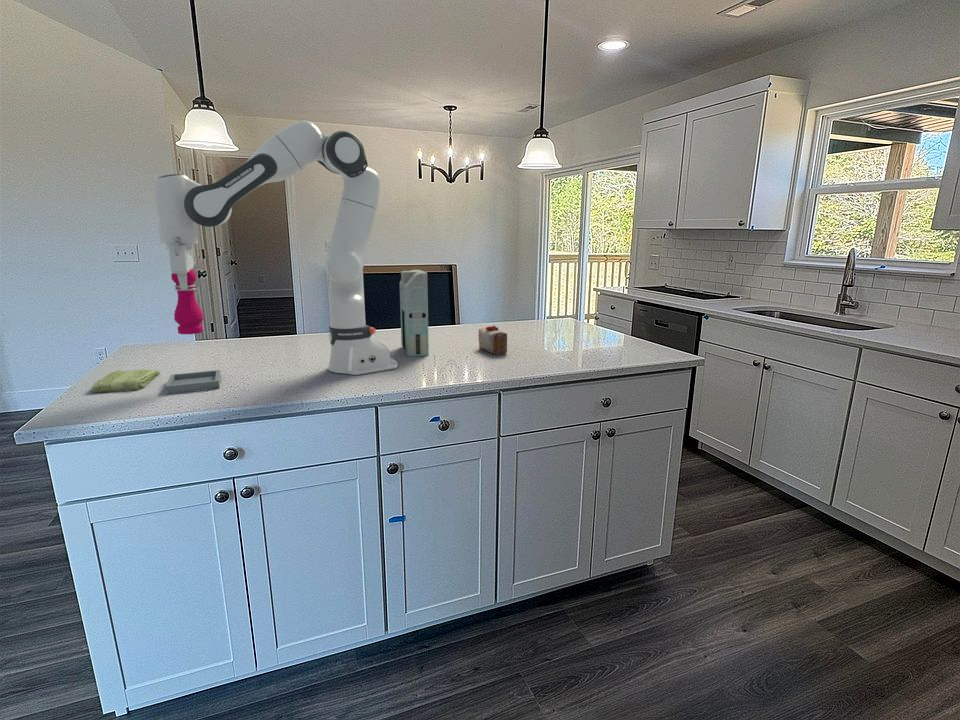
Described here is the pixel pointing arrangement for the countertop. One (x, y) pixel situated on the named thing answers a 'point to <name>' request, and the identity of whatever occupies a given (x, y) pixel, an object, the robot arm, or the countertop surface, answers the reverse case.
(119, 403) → the countertop surface
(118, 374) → the washcloth
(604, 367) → the countertop surface
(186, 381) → the slate tray
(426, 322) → the device
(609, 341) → the countertop surface
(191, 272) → the pepper mill
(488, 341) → the food item
